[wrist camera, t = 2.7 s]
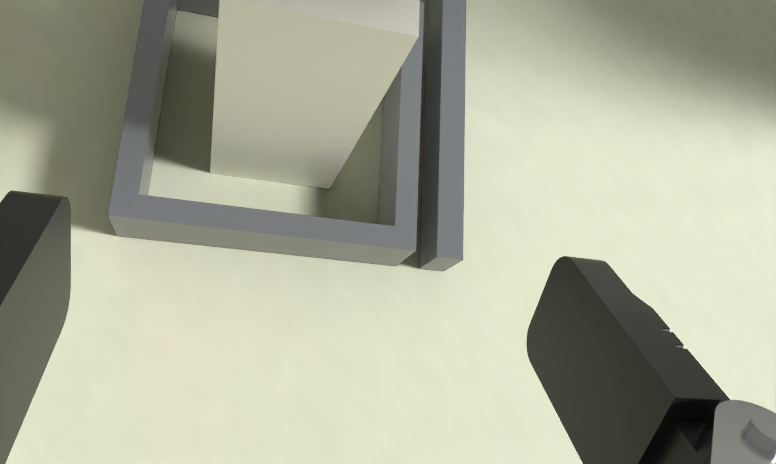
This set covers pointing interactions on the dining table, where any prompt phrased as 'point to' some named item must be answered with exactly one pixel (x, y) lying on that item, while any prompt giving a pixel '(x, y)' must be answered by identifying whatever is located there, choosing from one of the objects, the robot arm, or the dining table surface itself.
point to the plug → (302, 83)
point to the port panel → (302, 232)
